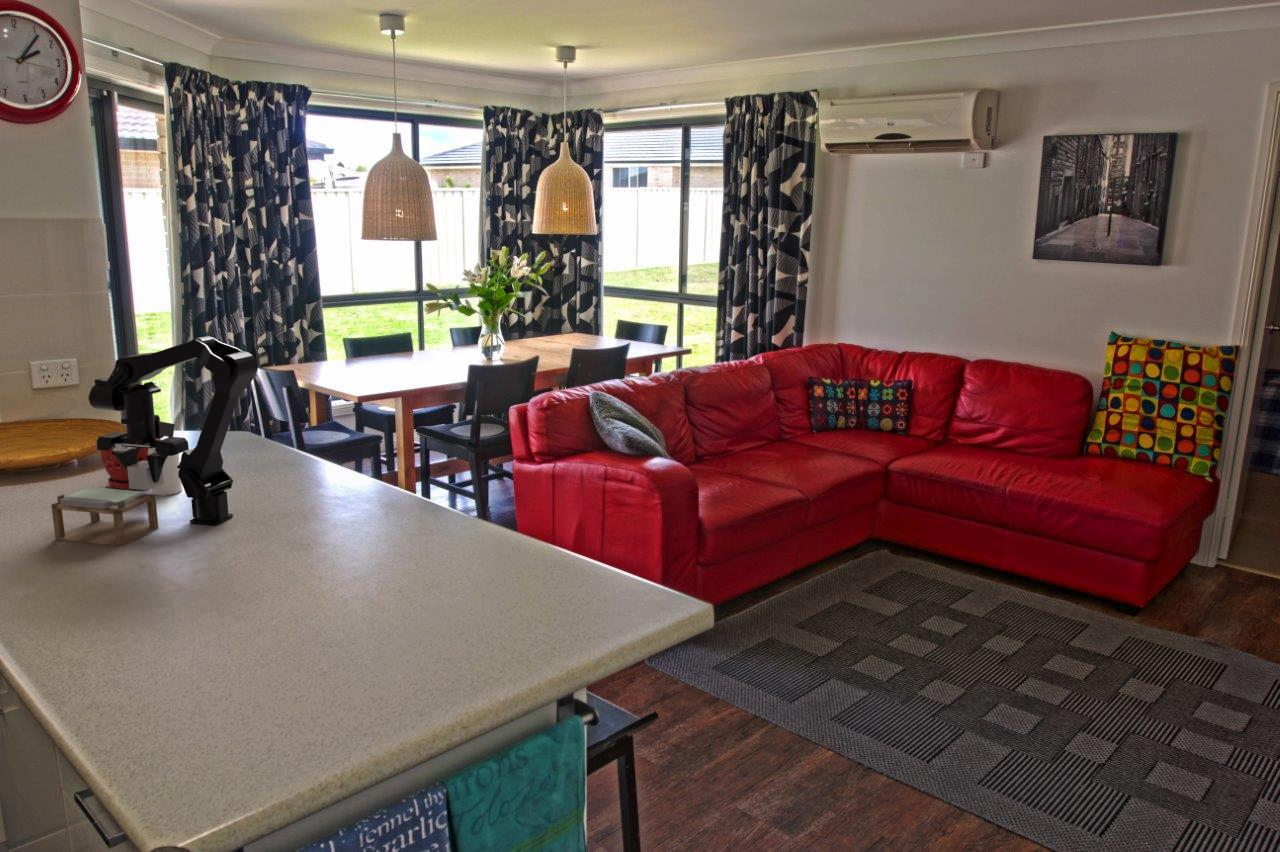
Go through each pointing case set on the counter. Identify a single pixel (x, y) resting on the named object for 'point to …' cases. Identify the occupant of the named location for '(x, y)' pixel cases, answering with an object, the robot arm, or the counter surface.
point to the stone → (142, 476)
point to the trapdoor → (98, 498)
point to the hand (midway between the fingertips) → (146, 481)
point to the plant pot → (119, 467)
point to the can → (169, 477)
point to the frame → (106, 523)
